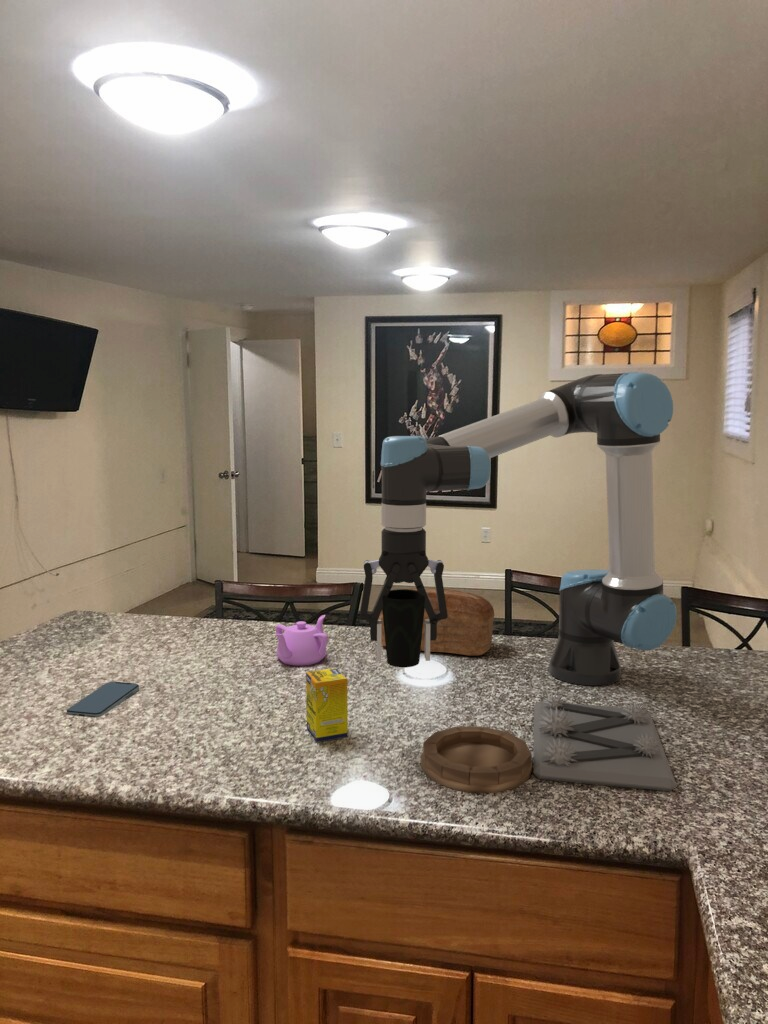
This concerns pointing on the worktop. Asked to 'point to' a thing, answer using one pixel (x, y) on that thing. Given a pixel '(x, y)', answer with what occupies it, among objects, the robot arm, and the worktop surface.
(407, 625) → the cup
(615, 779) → the grey board with spikes
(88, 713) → the smartphone
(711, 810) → the worktop surface
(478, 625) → the bread
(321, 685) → the supplement box
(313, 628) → the teapot
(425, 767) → the round tray
